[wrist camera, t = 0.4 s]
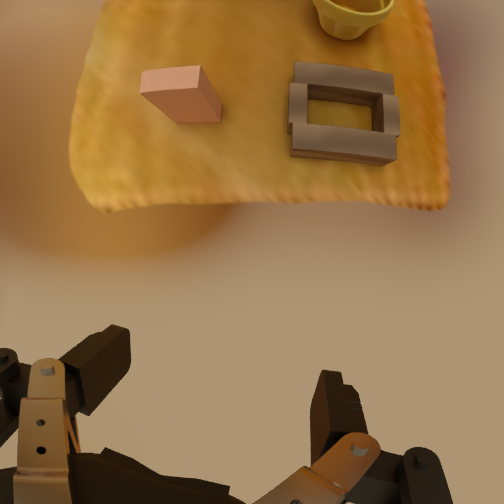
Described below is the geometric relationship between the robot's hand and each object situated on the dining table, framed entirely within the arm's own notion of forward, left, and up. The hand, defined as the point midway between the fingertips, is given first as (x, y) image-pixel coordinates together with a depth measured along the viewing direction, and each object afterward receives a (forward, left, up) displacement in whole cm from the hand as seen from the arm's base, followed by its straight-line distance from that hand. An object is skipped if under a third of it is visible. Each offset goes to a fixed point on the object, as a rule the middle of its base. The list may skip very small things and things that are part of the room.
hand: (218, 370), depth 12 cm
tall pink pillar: (-19, -9, -28) cm, 35 cm away
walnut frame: (-19, +9, -28) cm, 35 cm away
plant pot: (-35, +10, -28) cm, 46 cm away
